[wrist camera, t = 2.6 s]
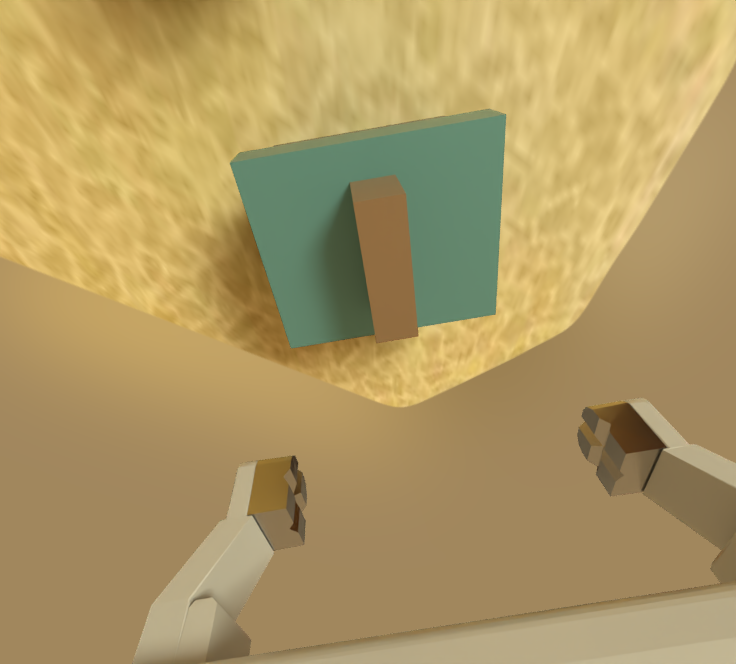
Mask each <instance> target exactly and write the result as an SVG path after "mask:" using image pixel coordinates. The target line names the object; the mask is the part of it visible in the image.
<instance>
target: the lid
mask: <svg viewBox="0 0 736 664" xmlns="http://www.w3.org/2000/svg"><path fill="white" fill-rule="evenodd" d="M505 126H506V114H503V113H500V112H497V111H494V110H491V109H486V110H480V111H474V112H469V113H463V114H457V115H452V116H446V117H440V118H434V119H429V120H423V121H417V122H412V123H406V124H400V125H395V126H389V127H383V128H378V129H372V130H366V131H360V132H355V133H349V134H343V135H338V136H332V137H326V138H321V139H315V140H309V141H303V142H298V143H292V144H286V145H281V146H275V147H269V148H264V149H258V150H252V151H247V152H241V153H239V154H238V155H237V156H236V157H235V158H234V159H233V160H232V161H231V162H230V165H231V168H232V171H233V174H234V177H235V180H236V183H237V186H238V189H239V192H240V195H241V198H242V201H243V204H244V207H245V210H246V213H247V216H248V219H249V222H250V225H251V229H252V232H253V235H254V238H255V241H256V244H257V247H258V250H259V253H260V256H261V259H262V262H263V265H264V268H265V271H266V274H267V277H268V280H269V283H270V286H271V289H272V292H273V295H274V298H275V301H276V304H277V307H278V310H279V313H280V316H281V319H282V322H283V325H284V329H285V332H286V335H287V338H288V341H289V344H290V347H291V348H297V347H303V346H309V345H315V344H321V343H327V342H333V341H339V340H345V339H351V338H357V337H363V336H369V335H375V337H376V343H381V342H387V341H393V340H399V339H405V338H411V337H417V336H418V327H423V326H429V325H435V324H441V323H447V322H453V321H459V320H465V319H471V318H477V317H483V316H489V315H495V314H496V296H497V277H498V258H499V239H500V220H501V202H502V183H503V164H504V145H505Z"/></svg>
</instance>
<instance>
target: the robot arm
mask: <svg viewBox="0 0 736 664" xmlns="http://www.w3.org/2000/svg"><path fill="white" fill-rule="evenodd" d="M582 417H583V419H584V421H585V422H584V423H583V424H582V425H581V426H580V427H579V430H578V442H579V446H580V448H581V451H582V453H583V454H584V456H585V458H586V459H587V460H588V461H589V462H591V463H593V464H594V465H596V466H597V472H596V475H597V476H598V478H599V480H600V481H601V483H602V484H603V486H604V487H605V489H606V490H607V492H608V494H609V495H610V496H617V495H625V494H632V493H640V492H643V494H644V495H645V496H646V497H648V498H649V499H651V500H652V501H653V502H655V503H656V504H658V505H659V506H660V507H662V508H663V509H665V510H666V511H668V512H669V513H670V514H672V515H673V516H674V517H676V518H677V519H679V520H680V521H682V522H683V523H684V524H686V525H687V526H688V527H690V528H691V529H693V530H694V531H695V532H697V533H698V534H699V535H701V536H702V537H704V538H705V539H706V540H708V541H709V542H711V543H712V544H714V545H715V546H716V547H718V548H719V549H720V550H722V551H721V552H720V553H719V554H718V556H717V557H716V558H715V560H714V561H713V562H712V565H711V568H710V569H711V571H712V572H713V573H714V575H715V576H716V577H717V579H718V580H719V582H720V583H721V584H714V585H708V586H701V587H694V588H688V589H681V590H676V591H668V592H662V593H656V594H649V595H643V596H636V597H629V598H622V599H617V600H609V601H603V602H596V603H590V604H583V605H577V606H570V607H564V608H557V609H551V610H544V611H538V612H531V613H524V614H518V615H512V616H505V617H499V618H492V619H485V620H479V621H472V622H466V623H459V624H452V625H446V626H440V627H433V628H426V629H420V630H413V631H407V632H400V633H394V634H387V635H381V636H374V637H368V638H361V639H355V640H349V641H342V642H335V643H329V644H322V645H316V646H309V647H303V648H296V649H289V650H283V651H276V652H270V653H263V654H257V655H250V656H249V653H250V644H251V639H250V638H249V636H248V635H247V634H246V633H245V632H244V631H243V630H242V628H241V627H240V626H239V625H238V624H237V623H236V622H235V621H236V619H237V617H238V615H239V614H240V612H241V610H242V608H243V607H244V605H245V603H246V601H247V599H248V598H249V596H250V594H251V593H252V591H253V589H254V587H255V585H256V584H257V582H258V580H259V578H260V576H261V575H262V573H263V571H264V570H265V568H266V566H267V564H268V563H269V561H270V559H271V557H272V556H273V554H274V552H273V551H275V550H280V549H285V548H291V547H296V546H301V545H304V540H305V522H306V521H305V519H304V517H303V514H302V511H303V510H304V508H305V507H306V501H307V493H306V483H305V479H304V476H303V473H302V472H301V471H299V470H298V461H297V459H296V457H295V456H288V457H280V458H272V459H265V460H258V461H251V462H245V463H241V464H240V466H239V467H238V469H237V473H236V478H235V482H234V487H233V491H232V496H231V500H230V504H229V509H228V513H227V517H226V519H225V520H221V521H220V522H219V523H218V524H217V526H216V527H215V528H214V529H213V530H212V532H211V533H210V534H209V535H208V537H207V538H206V539H205V540H204V541H203V543H202V544H201V545H200V546H199V548H198V549H197V550H196V551H195V552H194V554H193V555H192V556H191V557H190V559H189V560H188V561H187V562H186V563H185V565H184V566H183V567H182V568H181V570H180V571H179V572H178V574H177V575H176V576H175V577H174V578H173V579H172V581H171V582H170V583H169V584H168V586H167V587H166V588H165V589H164V590H163V592H162V593H161V594H160V595H159V597H158V598H157V599H156V600H155V602H154V603H153V604H152V605H151V608H150V612H149V615H148V618H147V621H146V624H145V627H144V630H143V633H142V636H141V639H140V642H139V645H138V648H137V651H136V654H135V657H134V660H133V663H132V664H736V463H734V462H732V461H729V460H728V459H725V458H723V457H721V456H719V455H717V454H715V453H713V452H711V451H709V450H706V449H705V448H703V447H700V446H698V445H696V444H692V445H689V444H688V443H687V442H686V441H685V440H684V438H683V437H681V435H680V434H679V433H678V432H677V431H676V430H675V429H674V428H673V427H672V426H671V425H670V424H669V422H668V421H666V419H665V418H664V417H663V416H662V415H661V414H660V413H659V412H658V411H657V410H656V409H655V408H654V407H653V405H652V404H651V403H650V402H649V401H648V400H646V399H644V398H637V399H631V400H625V401H617V402H611V403H606V404H600V405H594V406H589V407H586V408H585V409H584V410H583V413H582Z"/></svg>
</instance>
